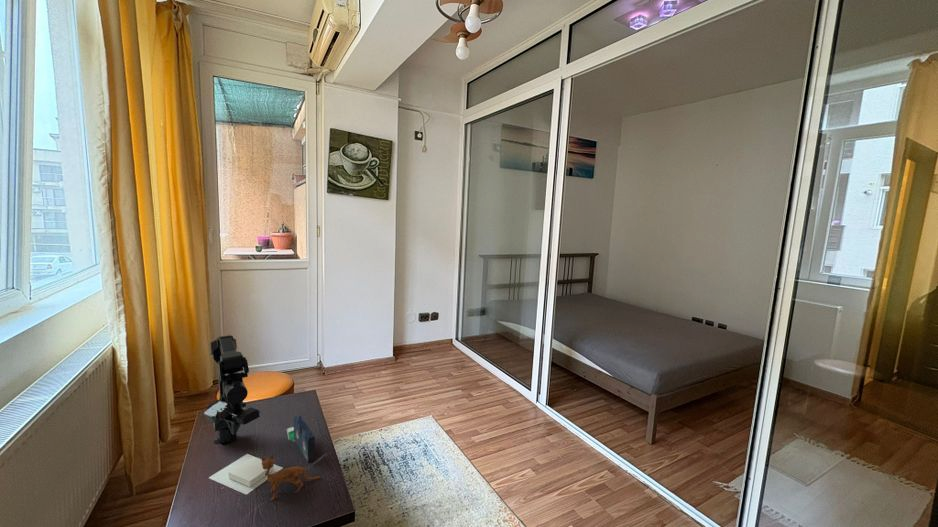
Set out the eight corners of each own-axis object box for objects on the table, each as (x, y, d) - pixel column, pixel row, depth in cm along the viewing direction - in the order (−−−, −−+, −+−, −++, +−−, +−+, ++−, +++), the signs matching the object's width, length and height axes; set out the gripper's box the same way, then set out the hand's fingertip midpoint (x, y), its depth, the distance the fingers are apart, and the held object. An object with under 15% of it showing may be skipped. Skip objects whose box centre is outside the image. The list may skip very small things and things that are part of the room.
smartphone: (305, 424, 156) (310, 442, 144) (304, 425, 156) (310, 444, 144) (286, 428, 152) (290, 447, 140) (286, 430, 152) (290, 449, 140)
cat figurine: (317, 474, 128) (319, 437, 126) (322, 485, 122) (324, 447, 121) (258, 493, 117) (260, 453, 115) (262, 507, 111) (263, 465, 110)
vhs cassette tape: (314, 462, 133) (314, 436, 132) (306, 465, 131) (306, 439, 130) (301, 437, 147) (301, 414, 146) (293, 440, 145) (293, 416, 144)
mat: (208, 479, 122) (208, 477, 122) (247, 455, 135) (247, 453, 135) (246, 496, 115) (246, 494, 115) (283, 469, 128) (283, 467, 128)
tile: (228, 472, 122) (249, 481, 118) (253, 456, 130) (273, 464, 126) (228, 478, 122) (249, 487, 118) (253, 462, 130) (273, 470, 127)
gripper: (190, 395, 120) (191, 439, 122) (228, 408, 114) (230, 454, 116) (223, 382, 131) (224, 423, 133) (260, 393, 124) (261, 436, 126)
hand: (234, 433), depth 126 cm, fingers closed
